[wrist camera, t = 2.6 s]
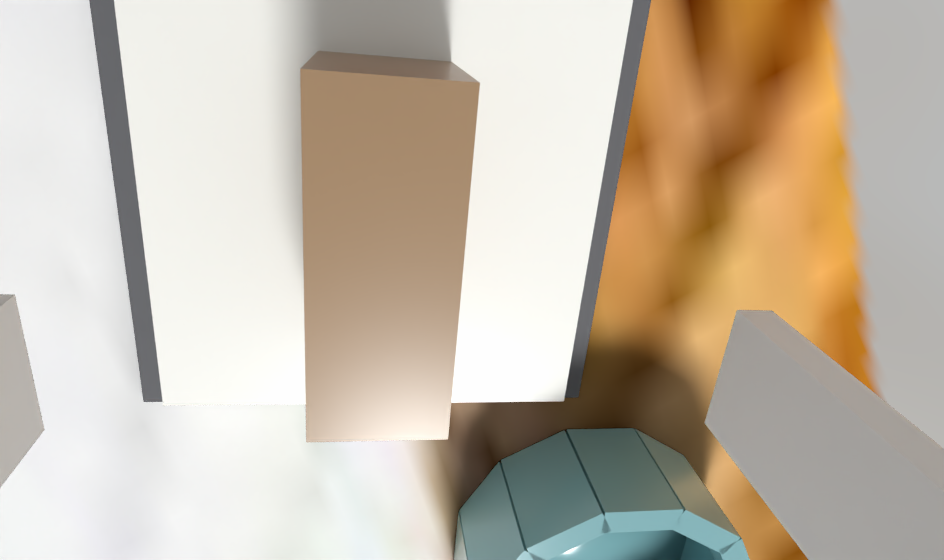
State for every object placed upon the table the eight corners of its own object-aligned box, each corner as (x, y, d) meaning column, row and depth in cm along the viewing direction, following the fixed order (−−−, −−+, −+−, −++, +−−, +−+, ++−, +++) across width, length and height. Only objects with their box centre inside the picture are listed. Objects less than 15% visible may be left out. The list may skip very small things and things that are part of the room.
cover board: (170, 390, 24) (105, 519, 18) (119, -63, 18) (-4, -94, 12) (557, 387, 26) (611, 499, 20) (623, -9, 20) (726, -13, 14)
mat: (147, 394, 24) (143, 401, 24) (84, -86, 18) (77, -88, 17) (574, 390, 27) (578, 397, 27) (649, -23, 21) (655, -23, 20)
